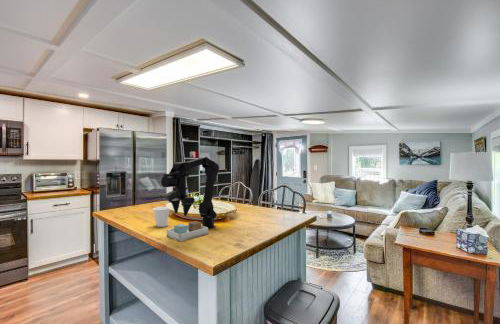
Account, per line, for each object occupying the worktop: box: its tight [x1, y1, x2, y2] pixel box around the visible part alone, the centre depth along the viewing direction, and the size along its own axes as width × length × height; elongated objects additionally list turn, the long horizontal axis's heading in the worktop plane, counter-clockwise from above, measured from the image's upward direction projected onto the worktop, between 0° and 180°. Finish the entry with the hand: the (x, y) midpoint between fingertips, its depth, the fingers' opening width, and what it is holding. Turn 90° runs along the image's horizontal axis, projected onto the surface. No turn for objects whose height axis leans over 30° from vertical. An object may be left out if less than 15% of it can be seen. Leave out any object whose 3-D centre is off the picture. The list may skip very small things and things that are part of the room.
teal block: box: [173, 223, 188, 234], centre depth 135 cm, size 5×5×5 cm
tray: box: [166, 224, 209, 242], centre depth 139 cm, size 18×13×4 cm
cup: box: [152, 206, 171, 228], centre depth 157 cm, size 10×10×11 cm
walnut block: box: [187, 220, 202, 232], centre depth 142 cm, size 5×5×5 cm
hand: (180, 214), depth 135 cm, fingers open, 9 cm apart
